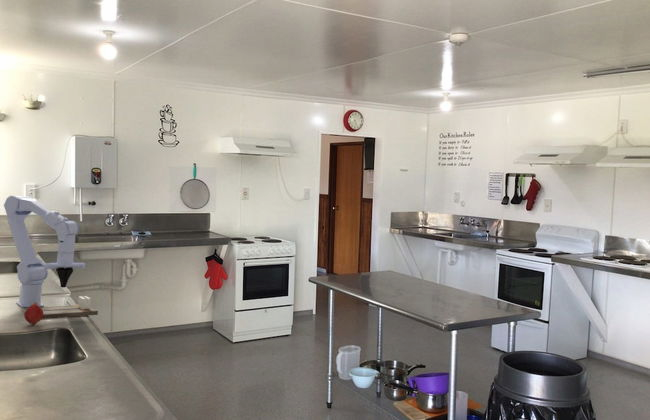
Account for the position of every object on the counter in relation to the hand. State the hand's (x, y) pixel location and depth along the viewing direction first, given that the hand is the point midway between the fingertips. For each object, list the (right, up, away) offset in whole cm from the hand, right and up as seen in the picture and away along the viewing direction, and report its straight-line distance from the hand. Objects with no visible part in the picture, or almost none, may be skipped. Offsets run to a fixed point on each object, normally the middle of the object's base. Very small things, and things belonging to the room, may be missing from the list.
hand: (63, 287), depth 217 cm
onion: (0, -10, -23) cm, 25 cm away
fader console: (+2, -10, -3) cm, 10 cm away
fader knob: (+7, -8, +2) cm, 11 cm away
